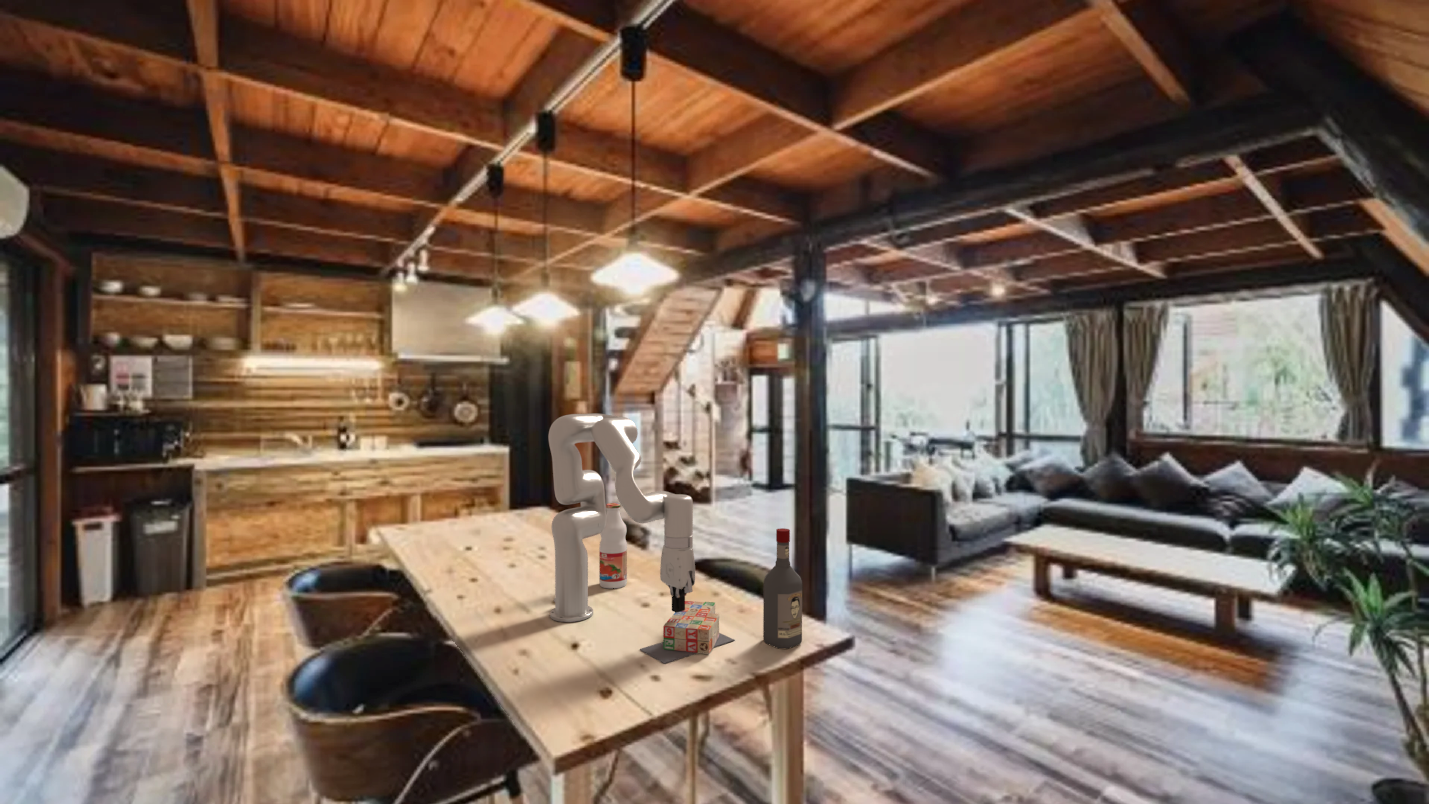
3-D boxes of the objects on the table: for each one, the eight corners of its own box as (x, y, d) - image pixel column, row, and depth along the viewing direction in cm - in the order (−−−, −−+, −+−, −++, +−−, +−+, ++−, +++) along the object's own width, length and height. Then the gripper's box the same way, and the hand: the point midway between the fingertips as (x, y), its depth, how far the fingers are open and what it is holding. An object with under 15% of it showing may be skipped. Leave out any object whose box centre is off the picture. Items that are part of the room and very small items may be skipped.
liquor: (758, 640, 171) (758, 529, 171) (782, 632, 177) (782, 524, 177) (782, 651, 164) (783, 535, 164) (806, 642, 170) (807, 530, 170)
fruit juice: (632, 584, 221) (632, 503, 220) (612, 591, 213) (612, 507, 213) (614, 579, 227) (614, 500, 226) (593, 585, 219) (593, 504, 219)
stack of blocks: (684, 599, 185) (725, 603, 182) (684, 621, 185) (725, 624, 182) (663, 625, 164) (710, 629, 161) (663, 650, 164) (709, 654, 161)
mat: (639, 650, 165) (639, 648, 165) (708, 629, 179) (708, 628, 179) (664, 664, 156) (664, 662, 156) (734, 640, 171) (734, 639, 171)
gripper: (650, 538, 172) (650, 606, 173) (684, 549, 161) (684, 621, 161) (673, 534, 177) (673, 600, 178) (707, 545, 166) (707, 615, 166)
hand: (678, 610), depth 169 cm, fingers closed
